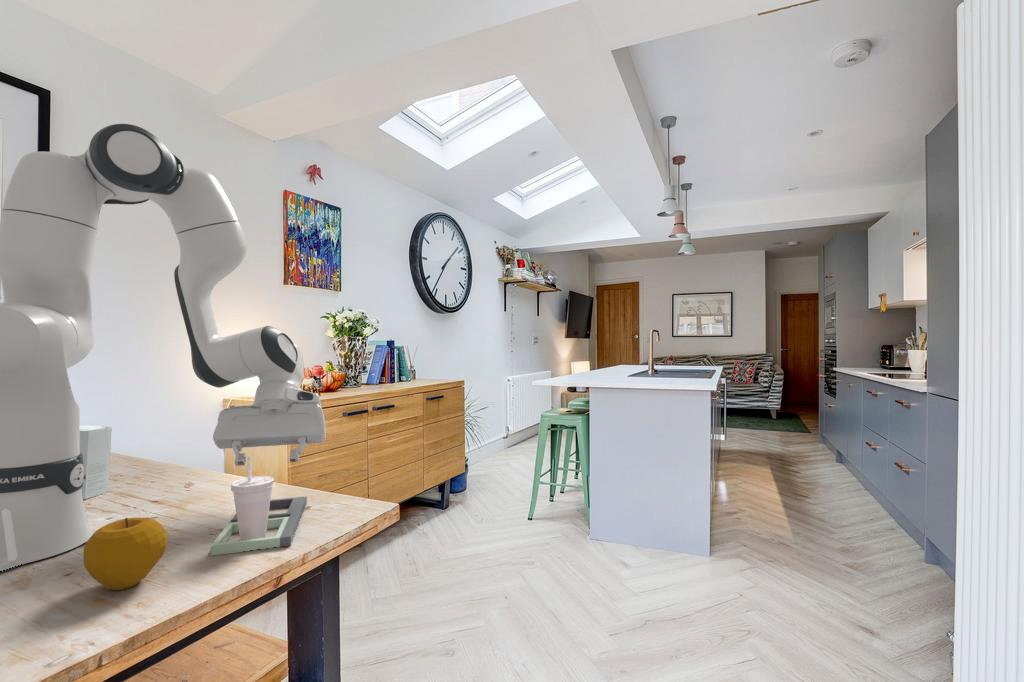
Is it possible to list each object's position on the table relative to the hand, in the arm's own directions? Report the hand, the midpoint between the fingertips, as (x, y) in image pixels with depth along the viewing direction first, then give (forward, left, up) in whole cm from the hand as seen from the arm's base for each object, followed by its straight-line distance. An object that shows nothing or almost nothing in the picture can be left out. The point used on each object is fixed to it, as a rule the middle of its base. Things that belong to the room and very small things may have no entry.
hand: (267, 462), depth 89 cm
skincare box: (-41, +25, -10) cm, 49 cm away
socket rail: (0, -7, -10) cm, 12 cm away
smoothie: (0, -12, -10) cm, 16 cm away
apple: (-13, -23, -10) cm, 28 cm away
